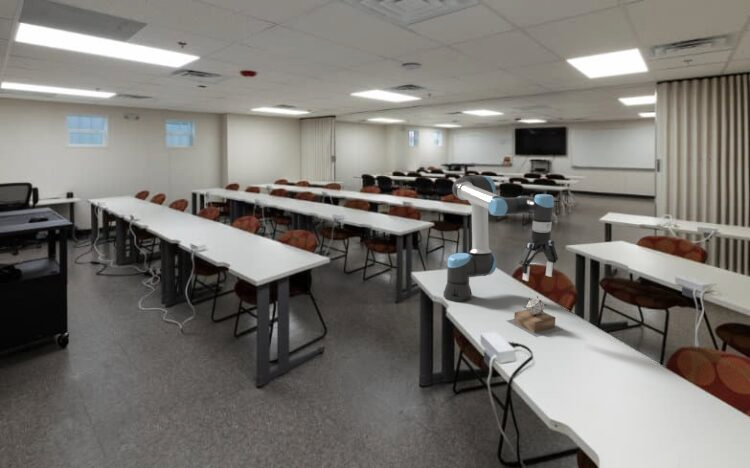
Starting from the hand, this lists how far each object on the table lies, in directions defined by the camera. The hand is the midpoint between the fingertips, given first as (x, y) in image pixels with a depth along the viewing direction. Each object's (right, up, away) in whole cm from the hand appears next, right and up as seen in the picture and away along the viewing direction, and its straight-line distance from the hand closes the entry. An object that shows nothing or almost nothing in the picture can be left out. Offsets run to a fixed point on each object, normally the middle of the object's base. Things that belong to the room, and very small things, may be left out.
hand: (537, 278), depth 172 cm
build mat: (0, -22, +4) cm, 22 cm away
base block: (0, -22, +4) cm, 22 cm away
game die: (0, -17, +3) cm, 17 cm away
